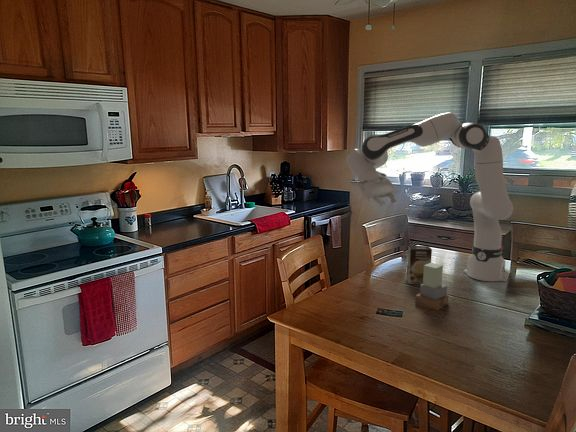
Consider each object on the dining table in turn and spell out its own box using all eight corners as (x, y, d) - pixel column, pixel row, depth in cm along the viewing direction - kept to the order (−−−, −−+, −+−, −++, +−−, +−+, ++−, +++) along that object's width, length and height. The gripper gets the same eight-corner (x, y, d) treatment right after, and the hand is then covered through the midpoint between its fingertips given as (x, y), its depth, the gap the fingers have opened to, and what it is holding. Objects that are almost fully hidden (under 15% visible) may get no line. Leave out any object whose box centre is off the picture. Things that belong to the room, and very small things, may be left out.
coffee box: (408, 284, 180) (410, 249, 177) (406, 279, 186) (407, 245, 183) (430, 284, 179) (432, 249, 176) (426, 279, 185) (428, 245, 182)
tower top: (430, 290, 163) (431, 280, 162) (446, 295, 158) (447, 285, 157) (420, 294, 159) (420, 284, 158) (435, 300, 154) (436, 289, 153)
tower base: (426, 298, 165) (426, 289, 165) (447, 304, 159) (448, 295, 158) (415, 304, 159) (415, 295, 158) (437, 311, 153) (437, 301, 152)
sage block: (429, 281, 161) (430, 262, 160) (441, 285, 157) (442, 265, 156) (422, 285, 158) (423, 265, 156) (434, 288, 154) (435, 268, 153)
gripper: (361, 177, 173) (380, 202, 168) (387, 173, 187) (406, 196, 182) (352, 186, 176) (371, 211, 172) (378, 182, 191) (396, 205, 186)
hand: (389, 204), depth 177 cm, fingers open, 8 cm apart
